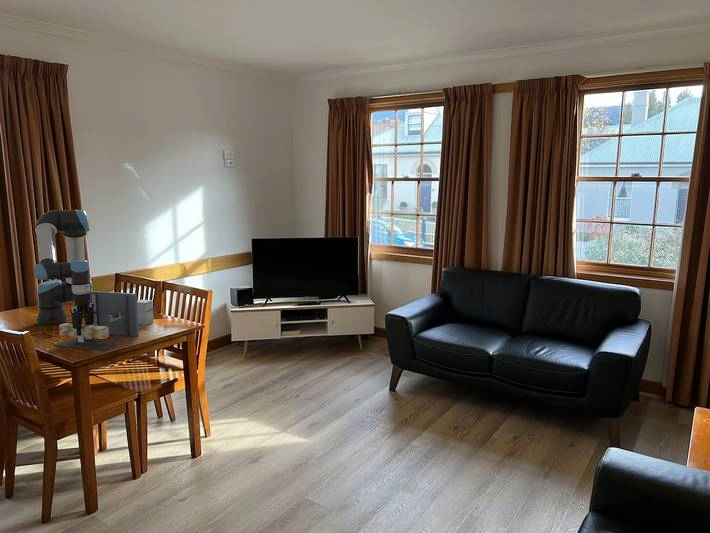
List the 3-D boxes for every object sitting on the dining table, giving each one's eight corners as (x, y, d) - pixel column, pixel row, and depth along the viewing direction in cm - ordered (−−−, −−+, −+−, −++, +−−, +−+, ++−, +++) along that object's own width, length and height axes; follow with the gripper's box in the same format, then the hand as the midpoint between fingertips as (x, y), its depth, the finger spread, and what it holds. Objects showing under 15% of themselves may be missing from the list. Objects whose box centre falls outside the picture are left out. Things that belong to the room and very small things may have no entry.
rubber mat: (53, 345, 251) (53, 344, 250) (66, 341, 258) (66, 339, 258) (104, 350, 245) (104, 349, 244) (116, 345, 252) (115, 344, 252)
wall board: (89, 332, 274) (87, 291, 271) (91, 331, 275) (89, 290, 272) (137, 336, 268) (134, 294, 264) (138, 335, 269) (136, 293, 266)
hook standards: (76, 340, 260) (73, 299, 256) (96, 332, 273) (93, 293, 270) (111, 343, 255) (109, 301, 252) (130, 335, 269) (127, 295, 265)
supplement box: (146, 325, 289) (145, 302, 287) (134, 324, 291) (133, 302, 289) (154, 321, 296) (153, 300, 294) (142, 320, 298) (141, 299, 296)
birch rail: (59, 335, 251) (59, 325, 250) (66, 333, 255) (65, 323, 254) (103, 339, 246) (102, 328, 245) (109, 336, 250) (108, 326, 249)
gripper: (74, 296, 238) (78, 346, 242) (100, 289, 255) (103, 336, 258) (60, 295, 240) (64, 345, 244) (87, 288, 256) (90, 335, 260)
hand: (84, 340), depth 251 cm, fingers closed on birch rail, 4 cm apart
